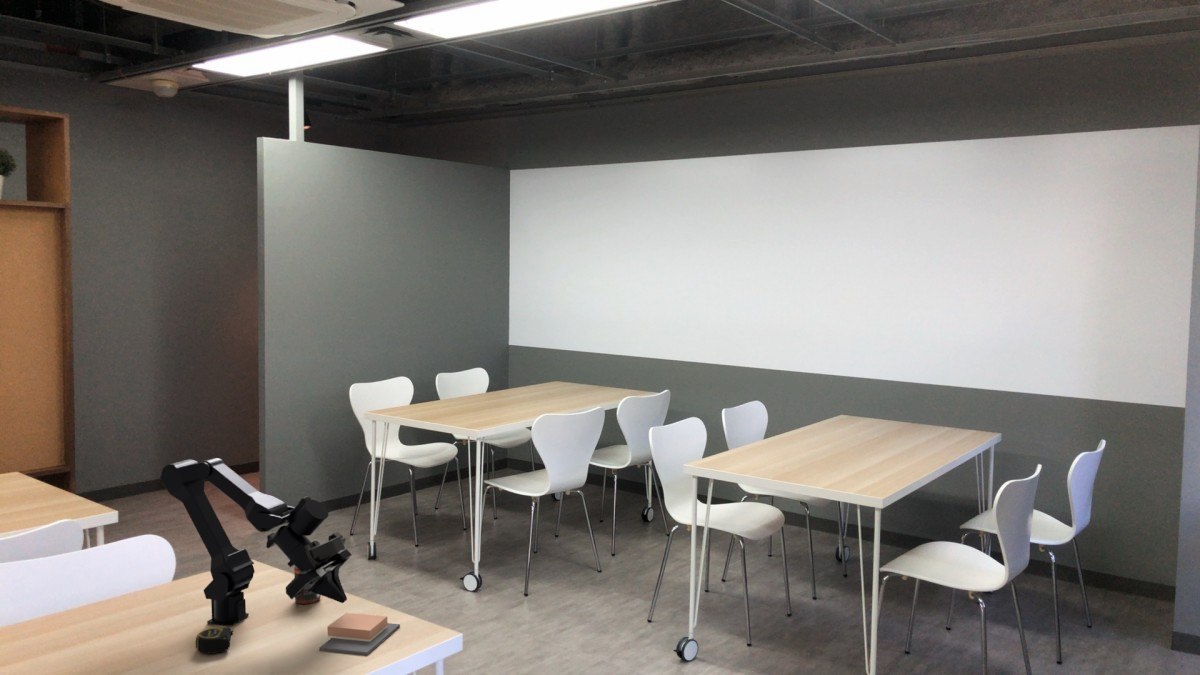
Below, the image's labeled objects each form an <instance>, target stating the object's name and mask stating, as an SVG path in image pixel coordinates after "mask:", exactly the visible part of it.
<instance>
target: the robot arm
mask: <svg viewBox="0 0 1200 675" xmlns="http://www.w3.org/2000/svg"><path fill="white" fill-rule="evenodd" d="M159 478H160V481H161V484H162V485H163V487H164V489H165V490H166V491H167V492H168V493H169V495H170V496H172V497H173V498H175V499H176V500H178V501H180V502H181V503H182V504H183V506H184V509H185V510H186V512H187V514H188V516H189V518H190V519H191V521H192V523H193V525H194V527H195V529H196V531H197V533H198V535H199V537H200V539H201V541H202V543H203V545H204V547H205V549H206V550H207V553H208V554H209V556H210V558H211V559H210V574H211V577H212V580H211V581H210V582H209V584H208V585H207V586H206V587H205V588H203V593H204V596H205V599H206V600H211V604H210V607H211V618H210V619H208V620H207V621H206V624H207V625H217V626H218V625H219V626H227V627H232V626H235V625H236V624H237V623H239V622H240V621H242V620H244V619H246V618H247V617H249V613H248V612H247V610H246V607H247V605H246V599H245V594H244V593H245V592H244V590H247V589H249V587H250V583H251V581H253V578H254V574H255V572H256V571H255V567H254V564H255V562H254V561H253V560H252V558H250V555H249V552H248V550H247V549H246V548H243V549H240V550H239V549H238V548H236V547H234V546H233V544H232V543H231V541H230V538H229V536H228V535H227V533H226V531H225V529H224V527H223V525H222V523H221V521H220V520H219V518H218V515H217V514H216V512H215V510H214V508H213V506H212V504H211V502H210V501H209V498H208V497H207V494H206V493H205V484H206V483H205V482H206V480H207V481H208V482H209V483H210V484H212V485H213V486H214V487H215V488H217V489H218V490H219V491H220V492H222V494H224V495H225V496H226V497H228V498H229V499H230V500H232V501H233V502H234V503H235V504H236V505H238V506H239V507H240V508H241V509H242V510H243V512H244V514H245V517H246V518H245V519H247V521H248V522H249V523H250V525H252V527H253V528H254V529H255V530H257V531H258V532H260V533H266V532H269V531H271V530H274V529H276V528H278V529H277V530H276V531H275V532H272V533H270V534H267V536H266V538H267V539H266V540H267V541H266V548H267V549H271V548H272V547H273V546H277V548H279V549H280V551H281V552H282V553H283V554H284V556H286V557H287V558H288V560H289V561H288V562H287V563H286V565H287V566H289V568H291V567H293V566H294V567H296V568H297V569H298V570H299V571H300V572H301V573H299V574H298V575H297V576H296V577H295V578H293V579H291V581H290V582H289V583H288V584H287V585H286V586H285V594H286V595H287V596H288V598H290V600H293V599H295V597H296V596H298V595H299V594H300V591H301V590H302V588H303V587H304V586H305V585H307V584H308V583H310V586H311V588H310V589H309V590H308V592H309V593H310V592H313V593H316V594H319V595H321V597H325V598H328V599H331V600H333V601H336V602H338V603H341V604H343V603H345V602H346V601H348V597H347V595H346V593H345V590H344V588H343V586H342V583H341V580H340V577H339V576H340V575H339V573H340V569H341V567H343V565H344V564H345V563H346V562H347V561H348V560H349V559H350V558H351V557H352V556H353V554H352V553H351V552H350V551H349V550H348V549H347V548H346V547H345V543H346V537H344V536H343V535H342V534H341V533H340V532H338V531H336V532H334V533H332V534H330V535H328V540H327V541H325V542H323V543H320V542H319V541H318V540H313V541H311V540H310V539H309V537H308V536H312V534H314V532H316V530H317V529H318V528H319V527H320V526H321V525H322V524H323V523H324V522H325V521H326V520H327V519H328V517H329V511H328V508H327V507H326V506H325V504H323V503H321V502H319V501H318V500H315V499H311V497H310V496H309V495H307V496H304V497H302V498H301V499H300V500H299V501H298V503H297V505H296V506H295V507H294V506H290V505H287V504H286V502H284V501H283V500H281V499H279V498H277V497H275V496H273V495H271V494H270V495H269V494H266V493H263V492H260V491H259V490H258V489H256V488H255V487H254V486H252V485H251V484H250V483H249V482H247V481H246V480H245V479H244V478H243V477H241V475H239V474H237V473H236V472H235V471H234V470H232V469H231V468H230V467H228V465H226V464H225V462H224V460H223V459H222V458H218V457H213V458H211V459H210V458H209V459H206V460H201V461H197V460H194V459H191V458H190V459H189V458H188V459H185V460H181V461H177V462H173V463H170V464H167V465H165V466H164V467H163V469H162V470H161V475H159ZM286 523H287V525H285V524H286Z"/></svg>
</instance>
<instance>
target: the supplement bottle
mask: <svg viewBox="0 0 1200 675" xmlns="http://www.w3.org/2000/svg"><path fill="white" fill-rule="evenodd" d="M293 569H294V570H293V571H294V572H293V574H294V575H293V576H294V578H295V577H296V576H297V575H298V574H299V573H301V572H300V571H299V570H298V569H297V568H296V567H295V566H294V568H293ZM294 578H293V579H294ZM310 588H311V586H310V583H308V584H307V585H305V586H304V587H303V588H302V590H301V591H300V594H299V595H298V596H296V597H295V598H294V600H295V602H296V603H297V604H299V605H309V604H313V603H317V602H318V601H319V600H320V599H321V597H322V595H319V594H316V593H313V592H310V593H309V592H308V590H309V589H310Z"/></svg>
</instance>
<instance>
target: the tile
mask: <svg viewBox="0 0 1200 675" xmlns="http://www.w3.org/2000/svg"><path fill="white" fill-rule="evenodd" d="M387 623H388V616H387V615H375V614H365V613H355V612H354V613H353V612H345V613H343V614H342V615H341V616H340V617H338V618H337V619H335V620H333V622H332V623H330V624H328V625H327V627H326V628H327V629H326V630H327V632H326V633H327V638H329V639H331V638H338V639H349V640H359V641H369V642H370V641H371V640H373V639H374V638H375V637H376V636H377V635H379V634H380V633H381V632H382V631H383V630H384V629H386V628H387Z"/></svg>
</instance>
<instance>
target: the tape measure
mask: <svg viewBox="0 0 1200 675" xmlns="http://www.w3.org/2000/svg"><path fill="white" fill-rule="evenodd" d="M233 635H234V630H232V629H231V627H230V626H227V627H223V628H222V627H213V628H208V629H205V630H202V631H200V632H199V633H198V634H197V635H196V638H195V648H196V649H197V651H198V652H199V653H201V654H209V655H210V654H215V653H220V652H224V651H227V650H229V649H230V647H231V646H230V644H231V639H232V636H233Z"/></svg>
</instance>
